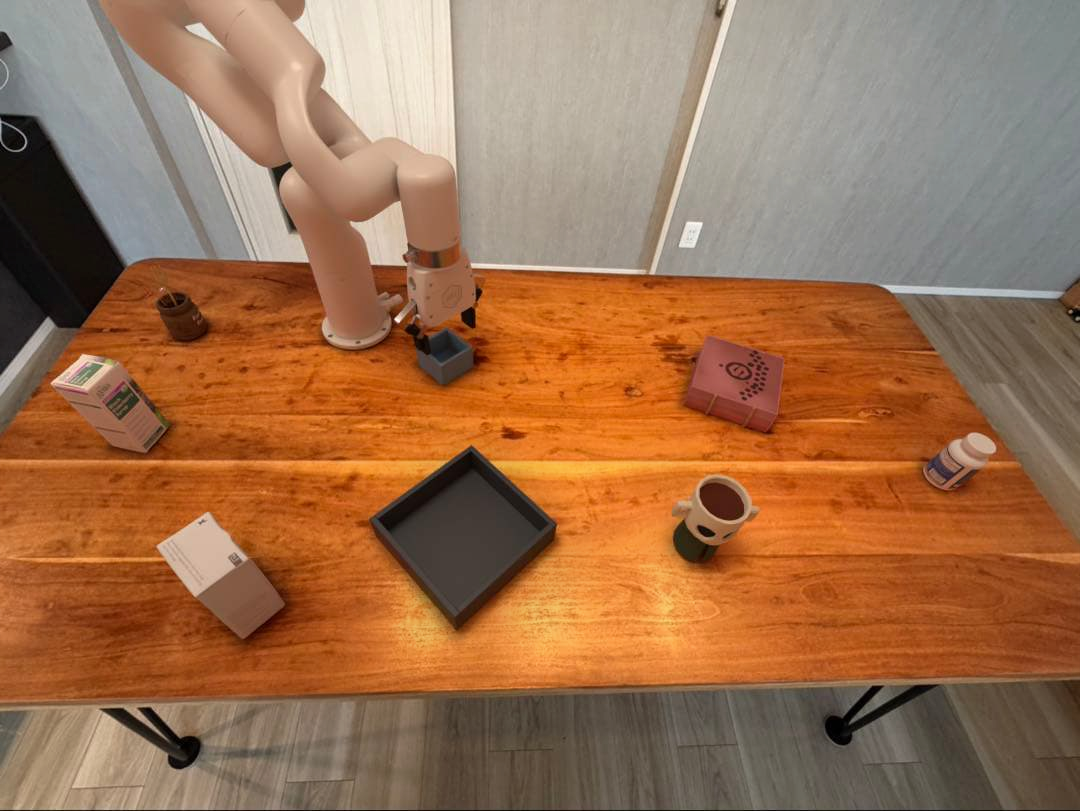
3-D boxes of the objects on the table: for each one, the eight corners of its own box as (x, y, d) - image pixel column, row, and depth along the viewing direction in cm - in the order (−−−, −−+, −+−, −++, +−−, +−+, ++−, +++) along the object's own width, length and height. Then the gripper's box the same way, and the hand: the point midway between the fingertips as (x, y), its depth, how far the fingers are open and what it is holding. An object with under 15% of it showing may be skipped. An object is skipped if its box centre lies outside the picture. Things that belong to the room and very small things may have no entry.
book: (682, 408, 91) (690, 389, 87) (698, 353, 100) (706, 334, 96) (764, 436, 88) (777, 418, 84) (773, 377, 97) (784, 358, 93)
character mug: (658, 565, 72) (684, 521, 62) (653, 518, 76) (676, 470, 66) (735, 570, 72) (774, 527, 62) (725, 523, 76) (760, 476, 67)
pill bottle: (953, 469, 86) (997, 434, 79) (959, 496, 83) (1005, 462, 75) (919, 459, 87) (959, 424, 79) (924, 485, 83) (966, 450, 76)
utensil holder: (175, 346, 92) (140, 291, 83) (169, 325, 95) (134, 270, 86) (211, 335, 94) (181, 280, 85) (204, 315, 97) (174, 261, 88)
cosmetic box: (209, 596, 65) (149, 545, 53) (254, 562, 68) (206, 507, 57) (245, 643, 62) (190, 599, 50) (291, 605, 65) (248, 555, 53)
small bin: (449, 347, 96) (447, 327, 93) (473, 367, 93) (472, 347, 90) (418, 365, 93) (415, 344, 89) (443, 386, 90) (440, 366, 86)
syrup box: (146, 454, 77) (88, 390, 66) (110, 446, 78) (47, 381, 67) (171, 425, 81) (120, 360, 70) (137, 418, 81) (81, 352, 70)
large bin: (472, 463, 80) (471, 444, 76) (554, 540, 73) (557, 523, 69) (375, 535, 71) (368, 518, 68) (457, 631, 64) (454, 617, 60)
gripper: (401, 284, 69) (418, 373, 82) (497, 237, 77) (499, 325, 90) (369, 259, 72) (390, 350, 85) (464, 217, 80) (471, 305, 93)
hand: (446, 337), depth 87 cm, fingers open, 9 cm apart
